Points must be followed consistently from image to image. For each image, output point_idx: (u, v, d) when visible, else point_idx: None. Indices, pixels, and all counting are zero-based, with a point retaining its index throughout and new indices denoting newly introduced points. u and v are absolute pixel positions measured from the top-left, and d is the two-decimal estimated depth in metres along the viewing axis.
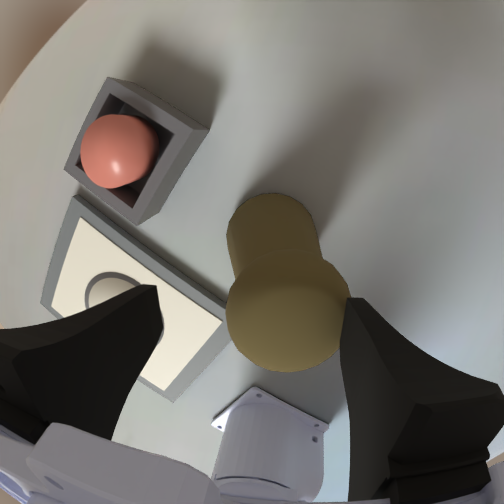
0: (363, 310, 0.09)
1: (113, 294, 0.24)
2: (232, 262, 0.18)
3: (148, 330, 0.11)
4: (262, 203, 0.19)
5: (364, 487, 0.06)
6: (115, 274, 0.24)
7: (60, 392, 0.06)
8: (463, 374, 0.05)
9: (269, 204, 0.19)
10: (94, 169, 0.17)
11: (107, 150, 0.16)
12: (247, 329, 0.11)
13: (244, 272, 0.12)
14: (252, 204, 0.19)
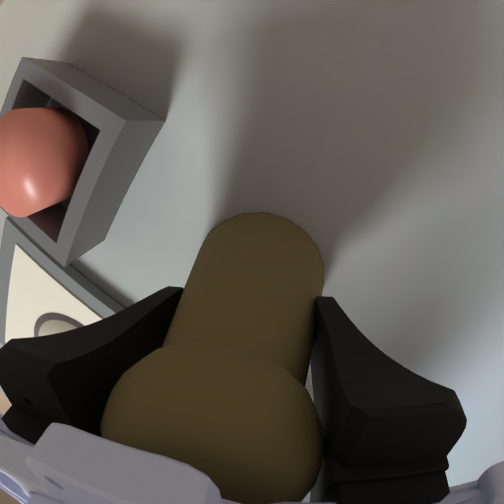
0: (329, 309, 0.10)
1: None
2: None
3: None
4: (236, 229, 0.13)
5: (318, 488, 0.06)
6: (61, 316, 0.17)
7: (94, 404, 0.06)
8: (420, 377, 0.06)
9: (245, 232, 0.12)
10: (1, 190, 0.10)
11: (13, 162, 0.09)
12: None
13: (123, 377, 0.06)
14: (224, 230, 0.13)
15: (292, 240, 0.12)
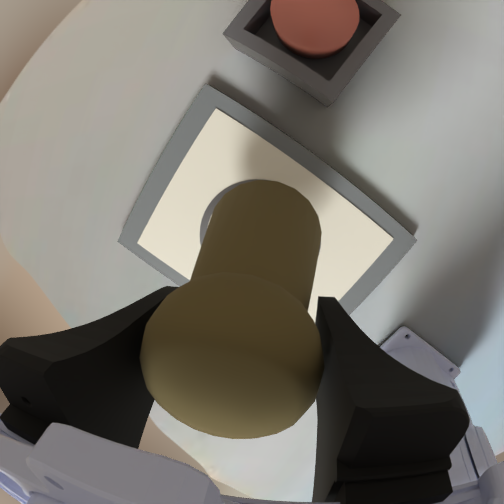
0: (331, 309, 0.10)
1: None
2: None
3: None
4: (253, 192, 0.14)
5: (321, 489, 0.06)
6: None
7: (91, 403, 0.06)
8: (423, 377, 0.06)
9: (261, 195, 0.14)
10: (291, 26, 0.12)
11: (314, 8, 0.12)
12: (154, 380, 0.07)
13: (169, 297, 0.08)
14: (241, 191, 0.15)
15: (300, 207, 0.14)
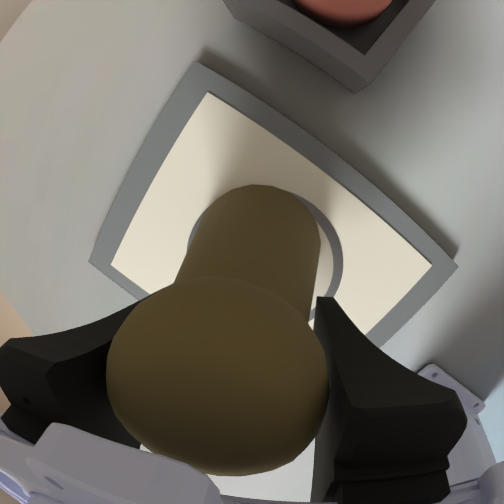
0: (329, 309, 0.10)
1: None
2: None
3: None
4: (246, 196, 0.13)
5: (319, 488, 0.06)
6: None
7: (93, 404, 0.06)
8: (421, 377, 0.06)
9: (254, 198, 0.13)
10: None
11: None
12: (120, 405, 0.06)
13: (140, 305, 0.06)
14: (233, 196, 0.13)
15: (297, 213, 0.13)
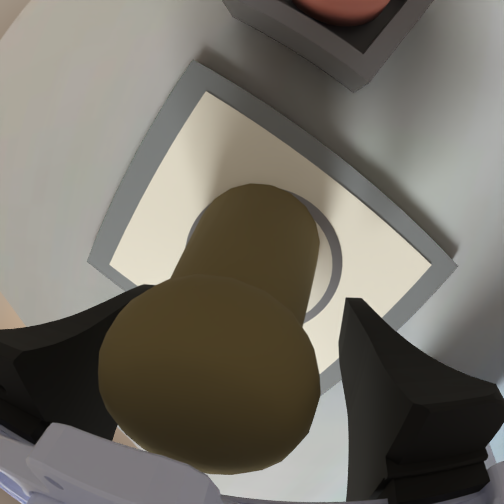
0: (362, 310, 0.09)
1: None
2: None
3: None
4: (243, 195, 0.13)
5: (362, 487, 0.06)
6: None
7: (61, 392, 0.06)
8: (461, 374, 0.05)
9: (252, 197, 0.13)
10: None
11: None
12: (111, 400, 0.06)
13: (131, 302, 0.06)
14: (231, 195, 0.14)
15: (295, 212, 0.13)
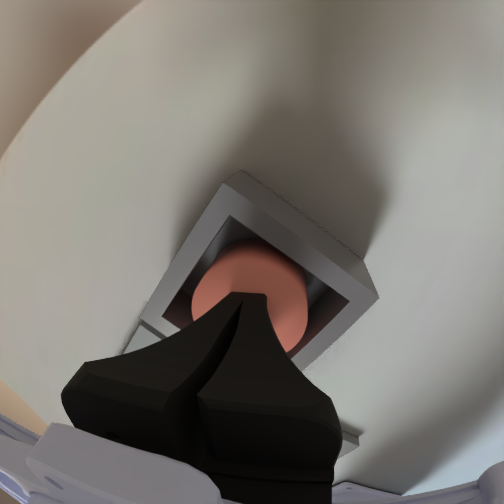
0: (251, 305, 0.10)
1: None
2: None
3: None
4: None
5: None
6: None
7: (193, 428, 0.06)
8: (307, 379, 0.06)
9: None
10: None
11: None
12: None
13: None
14: None
15: None
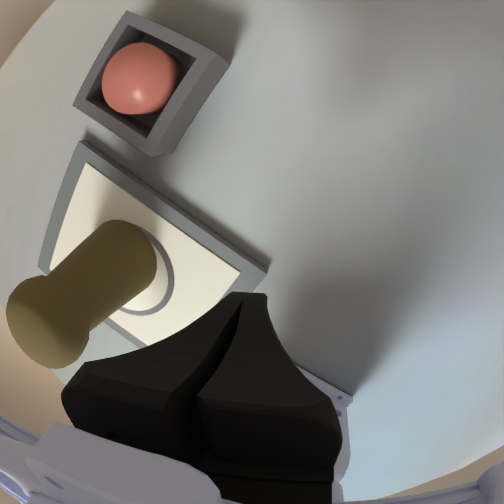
0: (251, 305, 0.10)
1: None
2: None
3: None
4: (101, 229, 0.20)
5: None
6: None
7: (193, 429, 0.06)
8: (307, 379, 0.06)
9: (103, 231, 0.20)
10: (115, 97, 0.16)
11: (132, 76, 0.15)
12: (8, 323, 0.13)
13: None
14: (97, 228, 0.21)
15: (128, 239, 0.20)
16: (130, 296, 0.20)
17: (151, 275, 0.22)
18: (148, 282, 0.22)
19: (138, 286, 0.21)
